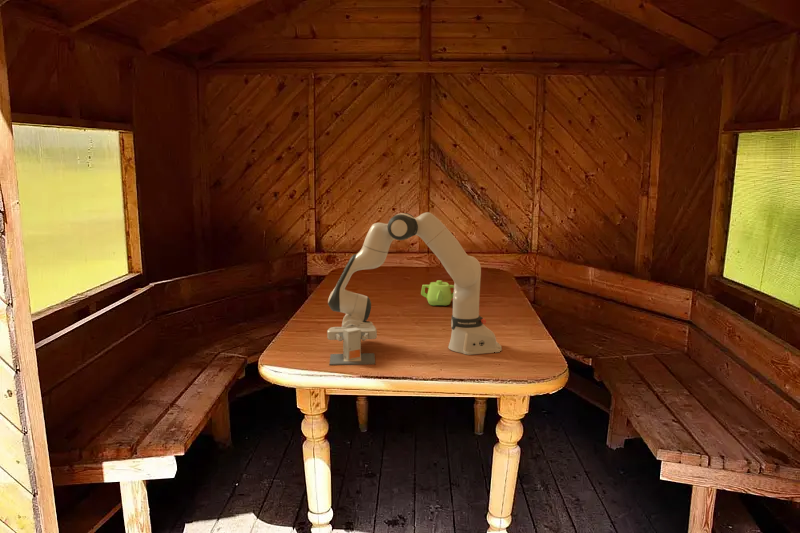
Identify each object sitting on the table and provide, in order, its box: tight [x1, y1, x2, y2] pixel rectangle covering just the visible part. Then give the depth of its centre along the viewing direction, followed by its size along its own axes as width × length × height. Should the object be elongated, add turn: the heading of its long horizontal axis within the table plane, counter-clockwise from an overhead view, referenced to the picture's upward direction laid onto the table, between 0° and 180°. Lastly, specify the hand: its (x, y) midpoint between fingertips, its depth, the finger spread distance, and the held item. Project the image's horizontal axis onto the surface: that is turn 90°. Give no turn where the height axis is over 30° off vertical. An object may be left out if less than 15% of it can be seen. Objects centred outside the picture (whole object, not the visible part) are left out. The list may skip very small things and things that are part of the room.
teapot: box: [420, 279, 454, 307], centre depth 349 cm, size 18×20×13 cm
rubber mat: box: [329, 352, 376, 366], centre depth 259 cm, size 18×12×1 cm, turn 94°
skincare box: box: [342, 327, 362, 360], centre depth 258 cm, size 6×4×12 cm
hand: (352, 338), depth 257 cm, fingers open, 8 cm apart
